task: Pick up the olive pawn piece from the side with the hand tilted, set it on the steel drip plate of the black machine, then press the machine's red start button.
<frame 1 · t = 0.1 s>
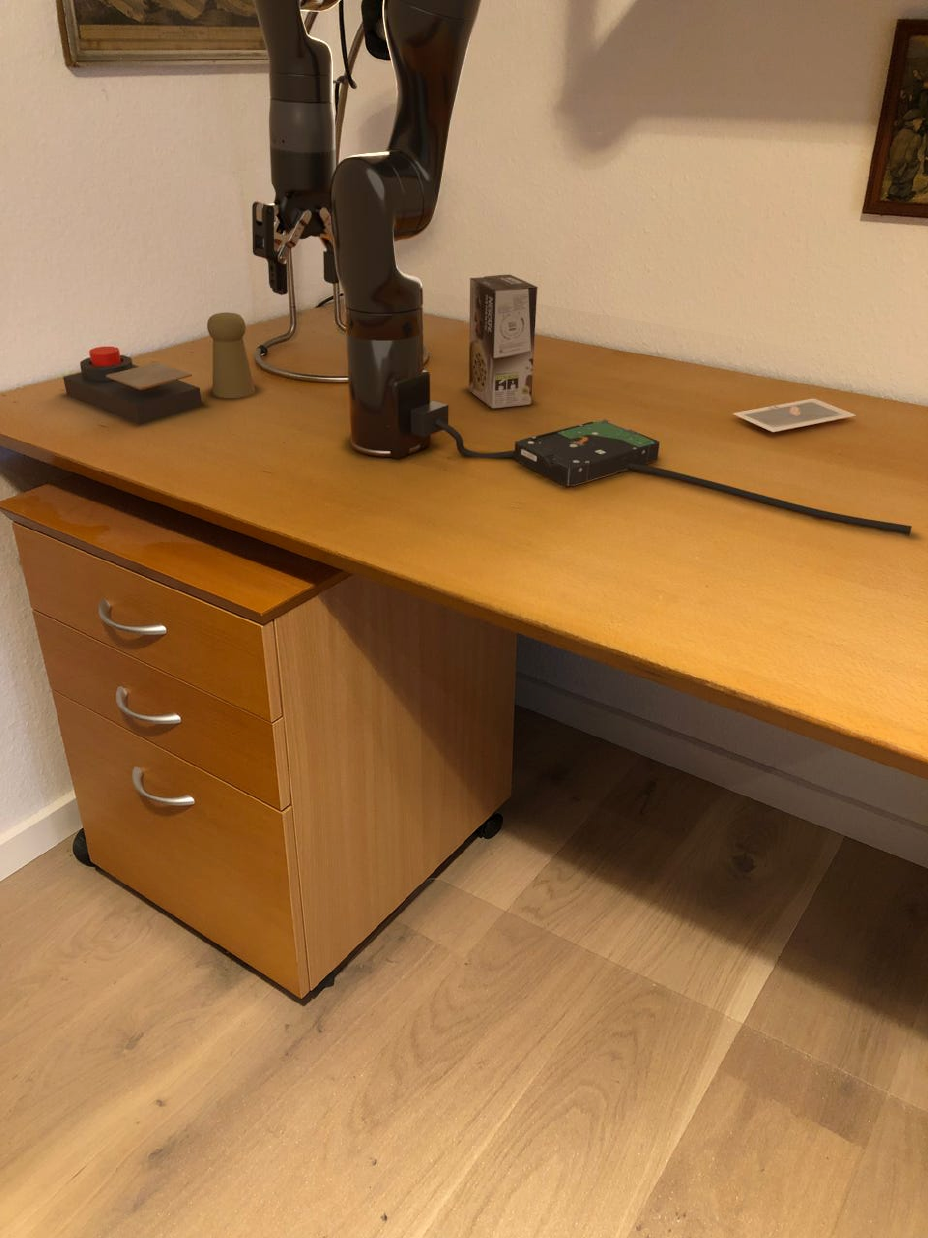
hand: (306, 287, 118), 17 cm above the table, tool pointing down, fingers open, 8 cm apart
machine: (133, 400, 132), on the table
drip plate: (149, 376, 127), resting on machine
coffee box: (499, 398, 136), on the table
olive pawn piece: (234, 392, 136), on the table
start button: (105, 357, 133), point 5 cm above the table, slide at 0.1 cm
disk drive: (585, 463, 115), on the table
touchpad: (792, 423, 129), on the table
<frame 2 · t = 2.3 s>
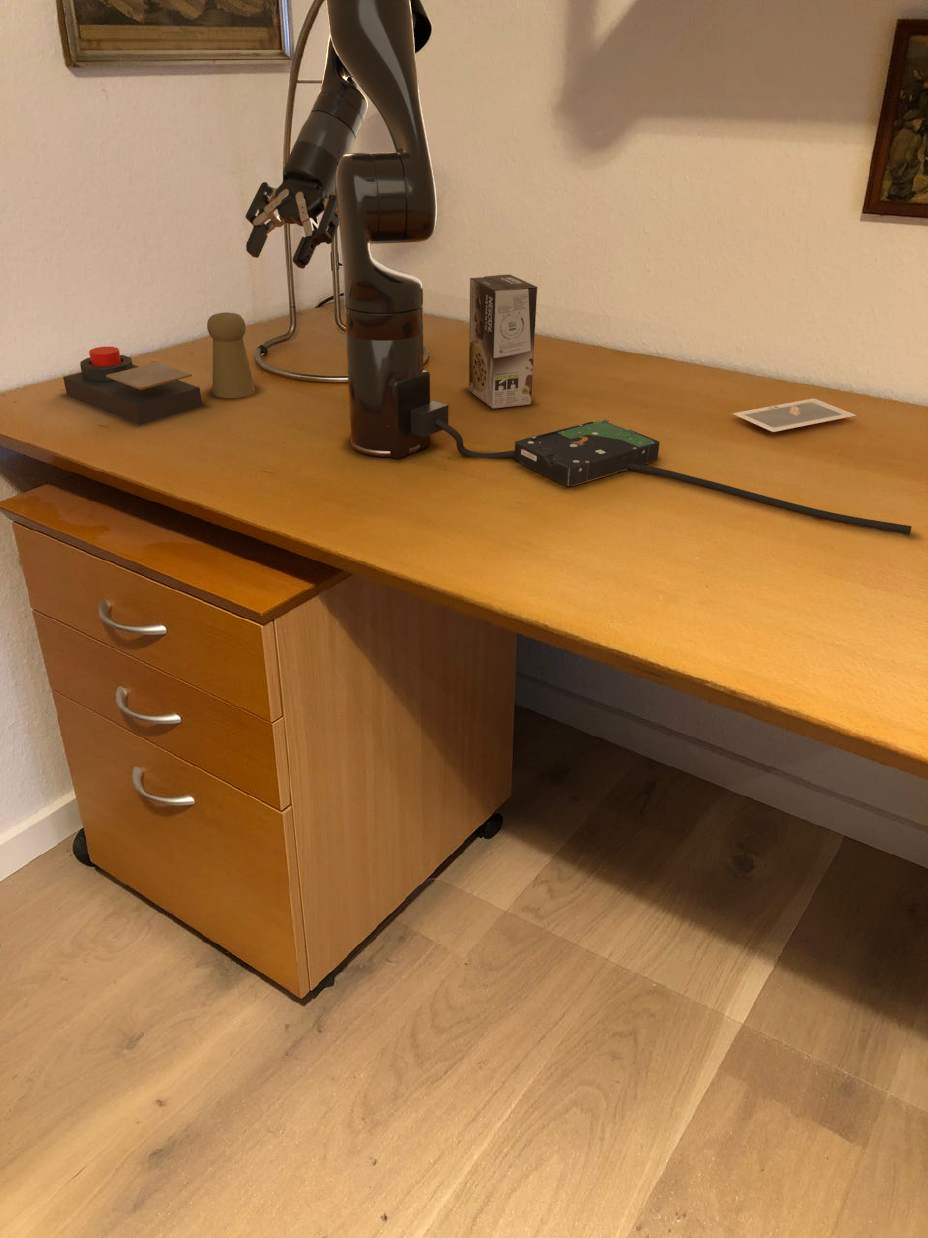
hand: (274, 259, 133), 17 cm above the table, tool tilted 40°, fingers open, 8 cm apart
nothing on the table moved.
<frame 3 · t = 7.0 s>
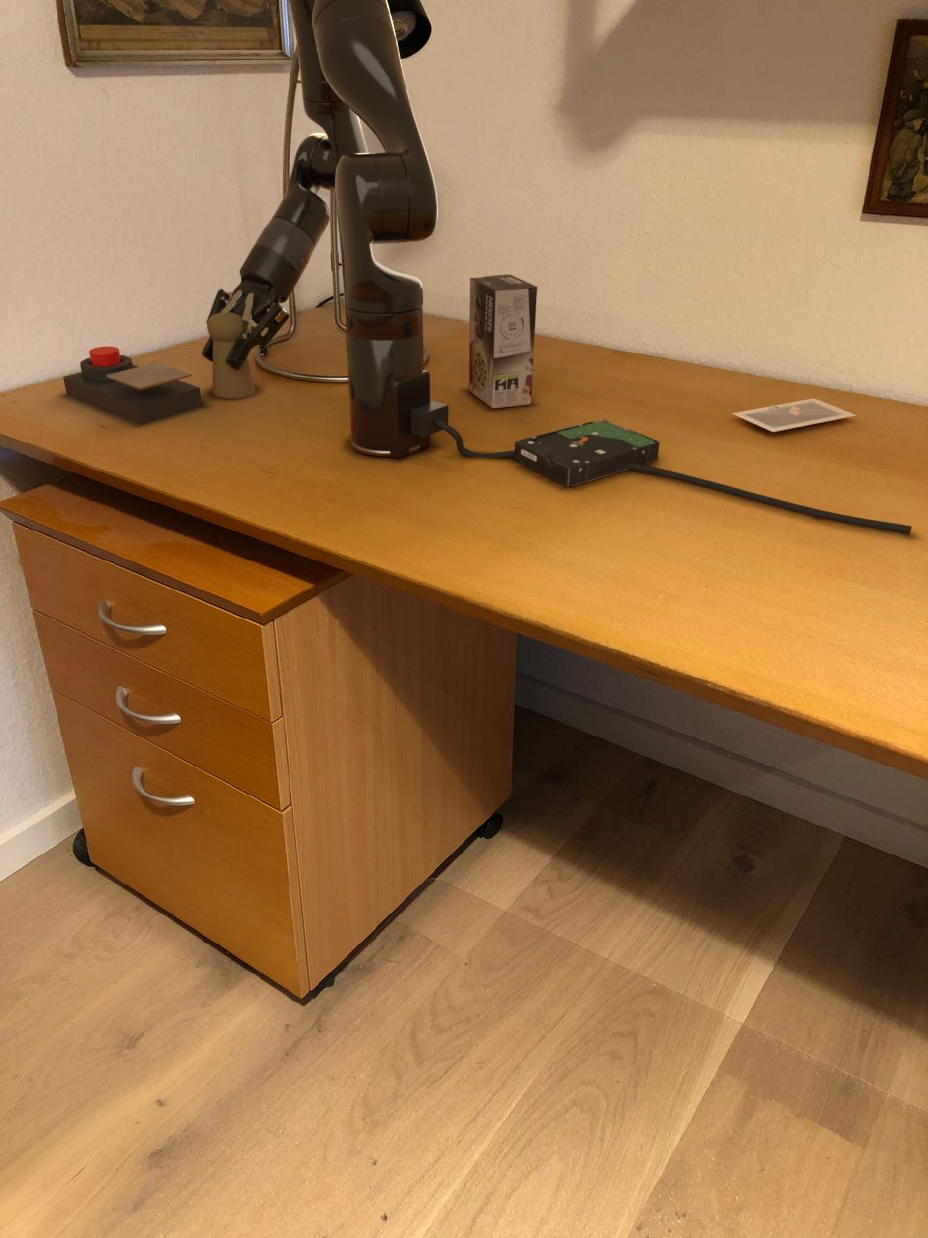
hand: (219, 361, 133), 5 cm above the table, tool tilted 45°, fingers closed on olive pawn piece, 4 cm apart
olive pawn piece: (234, 392, 136), on the table, touching gripper
everything else where it was.
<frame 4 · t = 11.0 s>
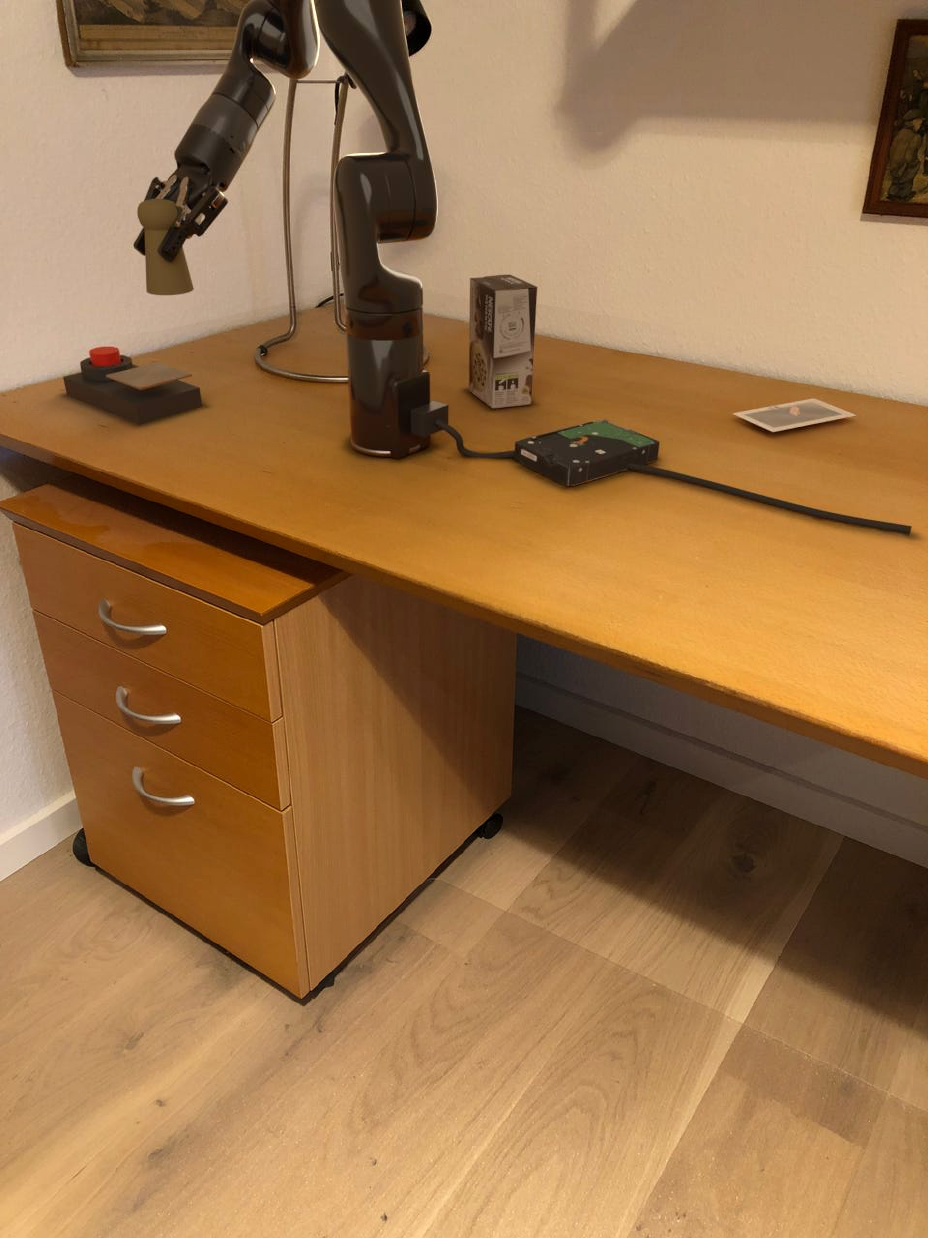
hand: (152, 254, 121), 20 cm above the table, tool tilted 45°, fingers closed on olive pawn piece, 4 cm apart
olive pawn piece: (170, 291, 124), point 15 cm above the table, touching gripper
everything else where it was.
when the fingers open (9 cm above the table, at t = 14.9 s): olive pawn piece stays where it is, resting on drip plate.
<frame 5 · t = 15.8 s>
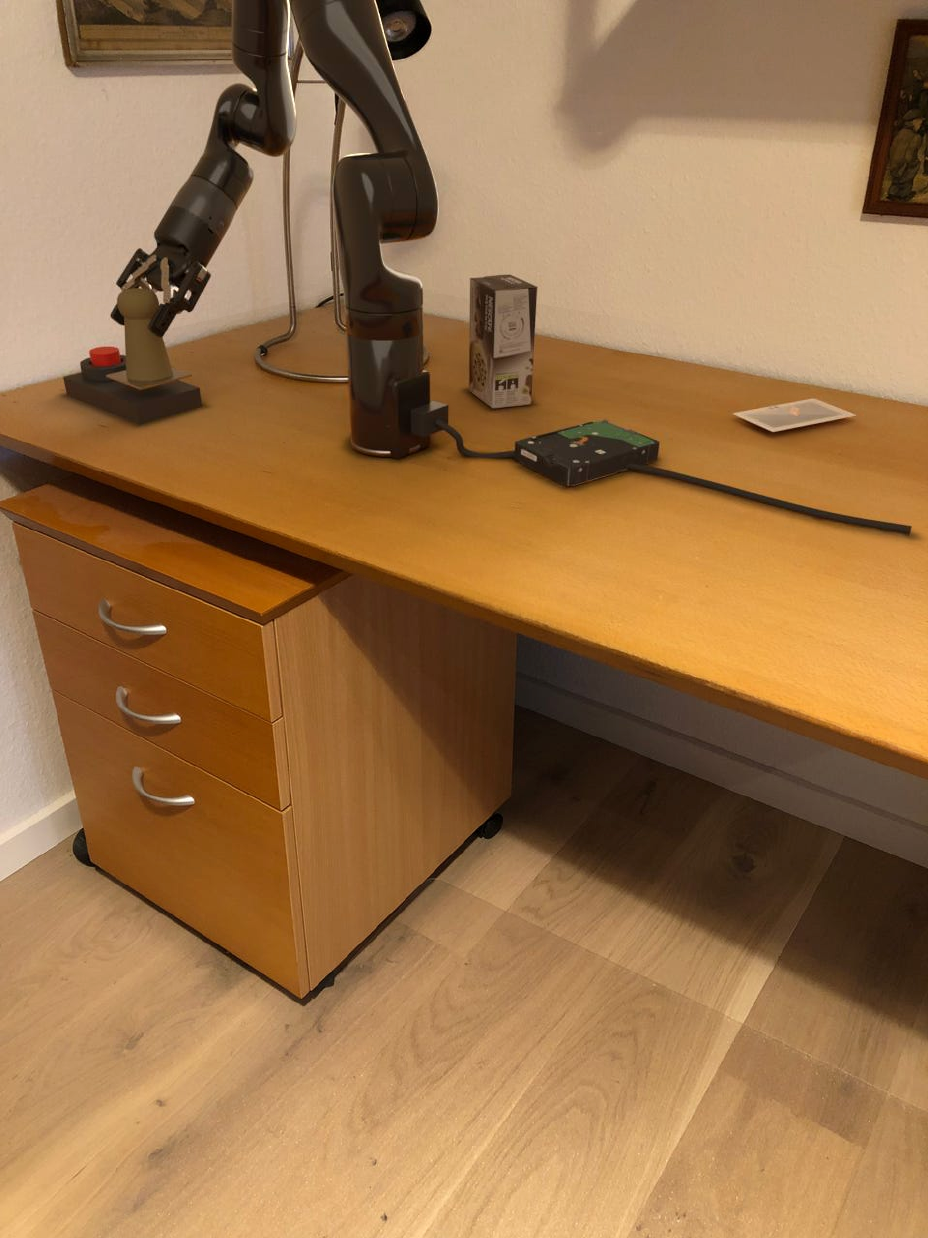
hand: (135, 327, 123), 11 cm above the table, tool tilted 45°, fingers open, 8 cm apart
olive pawn piece: (150, 375, 127), point 5 cm above the table, touching drip plate
everything else where it was.
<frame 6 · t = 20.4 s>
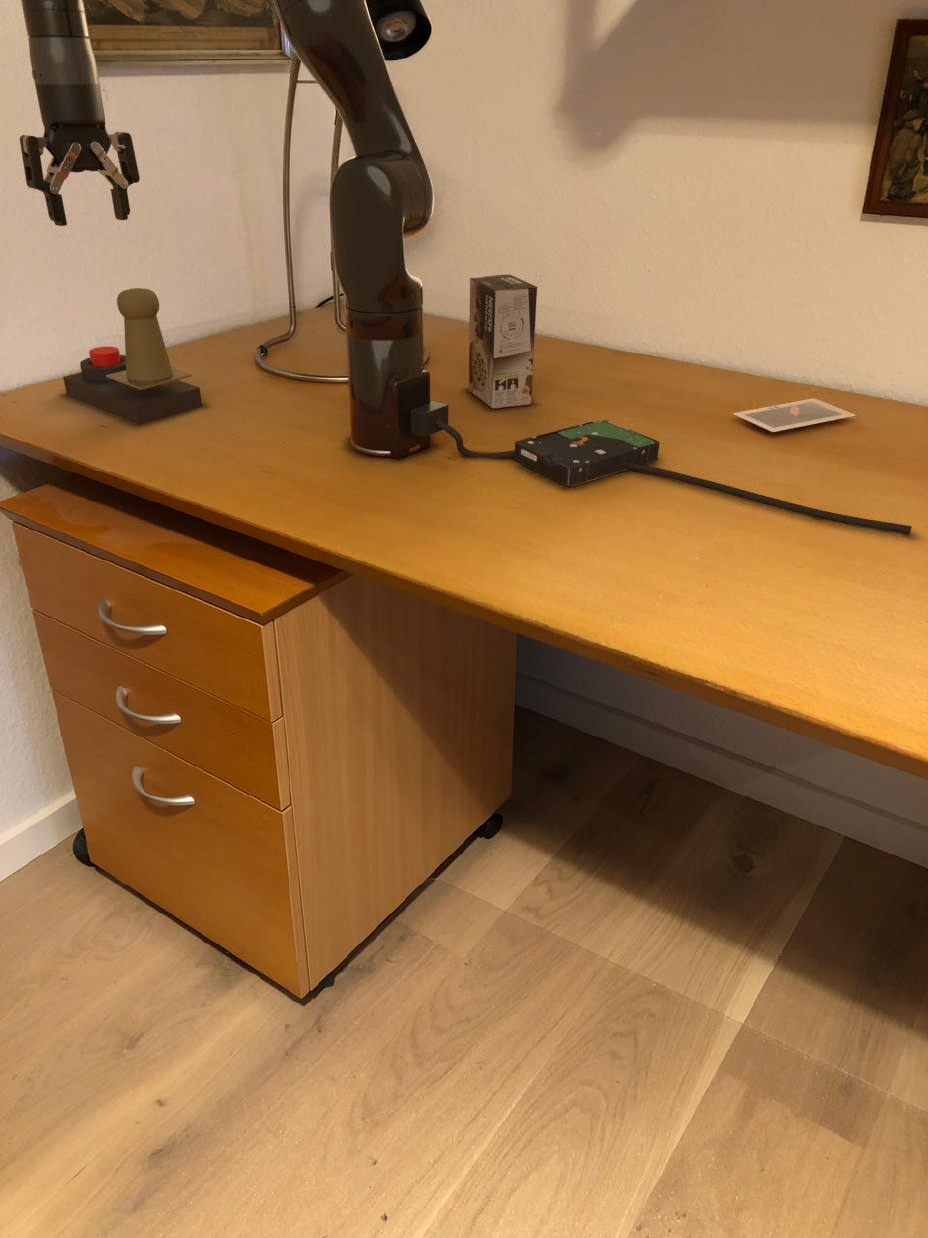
hand: (92, 222, 124), 23 cm above the table, tool pointing down, fingers open, 8 cm apart
nothing on the table moved.
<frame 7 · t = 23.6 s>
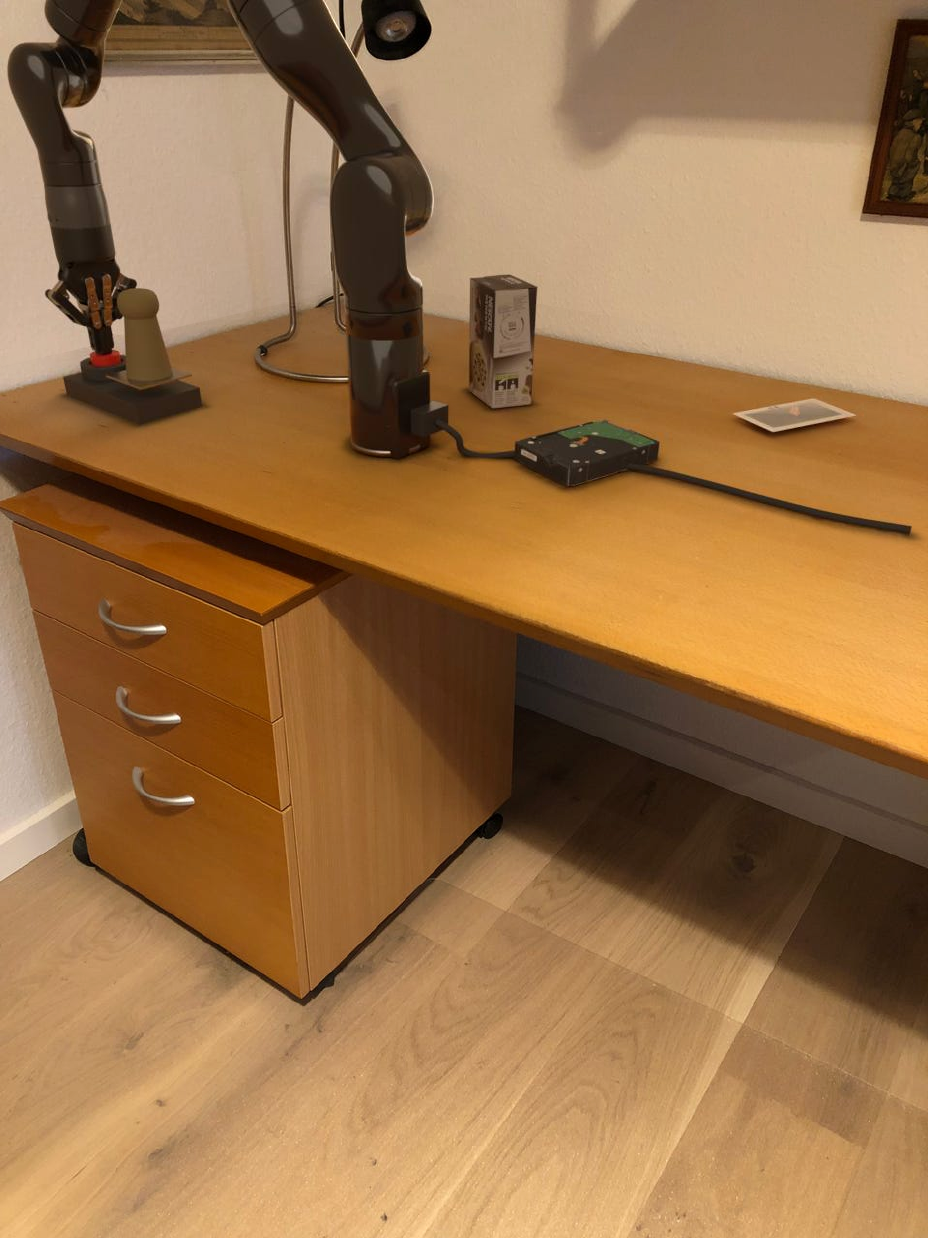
hand: (104, 352, 132), 6 cm above the table, tool pointing down, fingers closed
start button: (105, 360, 133), point 5 cm above the table, slide at -0.3 cm, touching gripper
everything else where it was.
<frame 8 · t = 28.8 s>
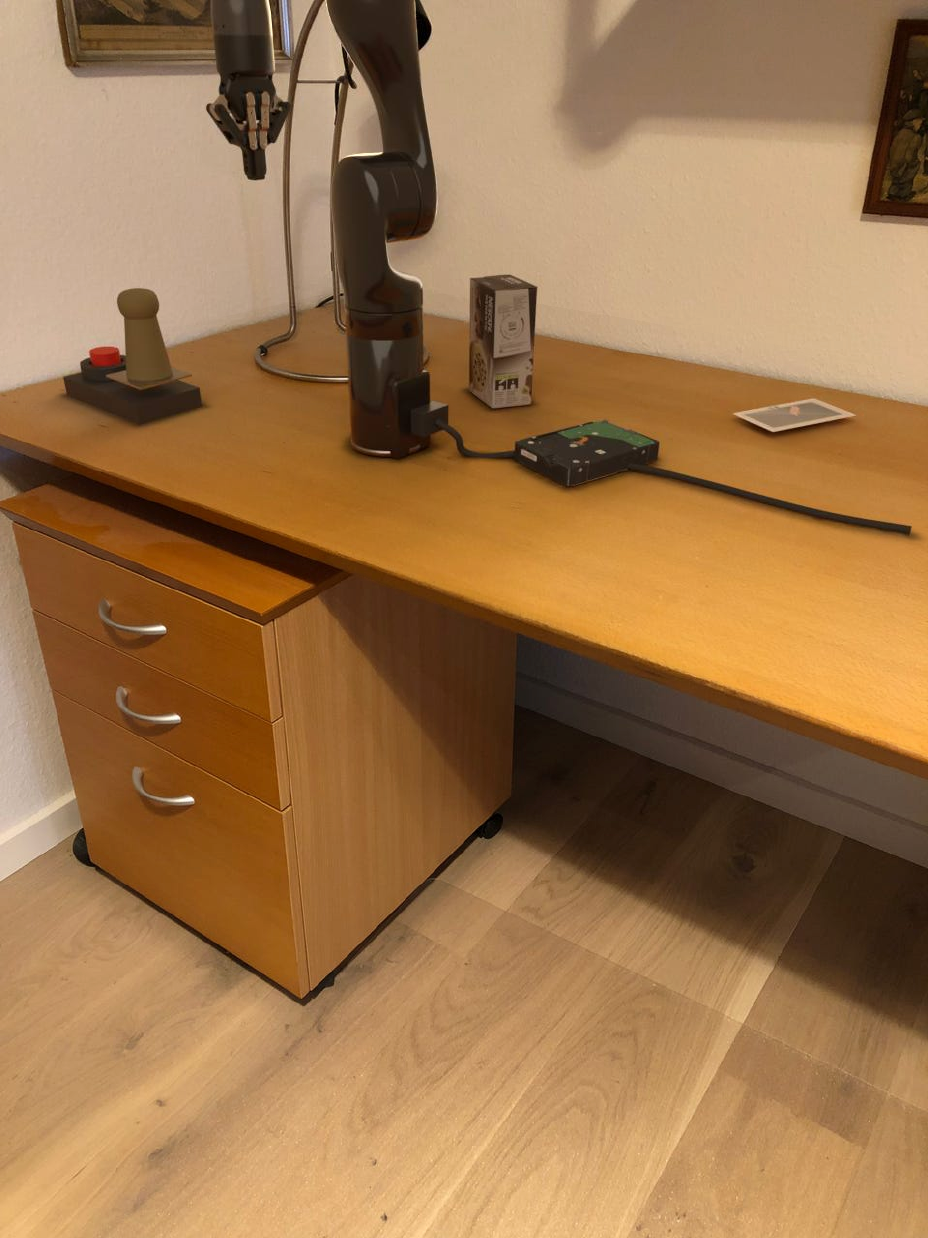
hand: (256, 179, 130), 27 cm above the table, tool pointing down, fingers closed
start button: (105, 357, 133), point 5 cm above the table, slide at 0.1 cm
everything else where it was.
at the end: olive pawn piece 0.2 cm off-centre on the drip plate, point 0.1 cm above the drip plate's base; olive pawn piece tilted 0°; start button pushed in 1.1 cm at the most during the clip, back to where it started at the end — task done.
